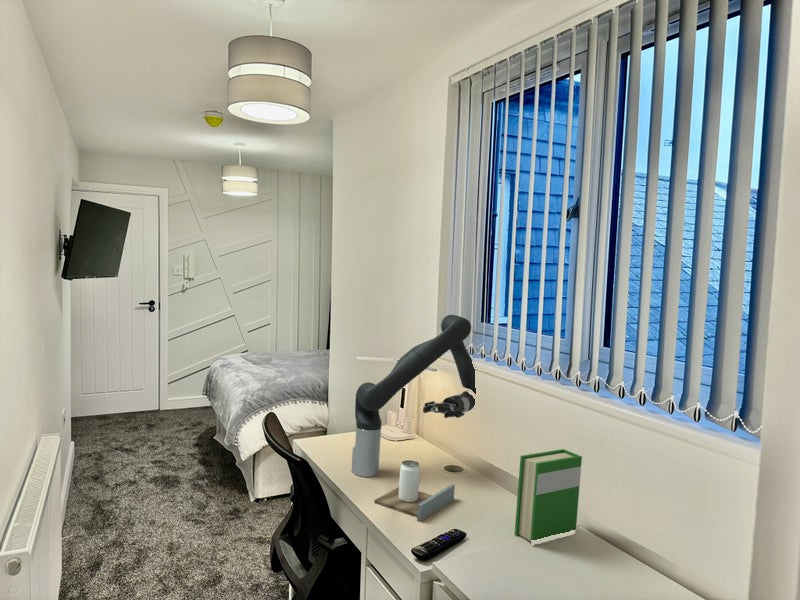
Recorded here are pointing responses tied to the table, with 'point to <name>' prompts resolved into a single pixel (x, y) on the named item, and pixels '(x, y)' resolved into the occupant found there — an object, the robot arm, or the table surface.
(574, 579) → the table surface
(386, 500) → the walnut board
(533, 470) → the hardback book
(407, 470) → the can
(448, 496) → the low wall
